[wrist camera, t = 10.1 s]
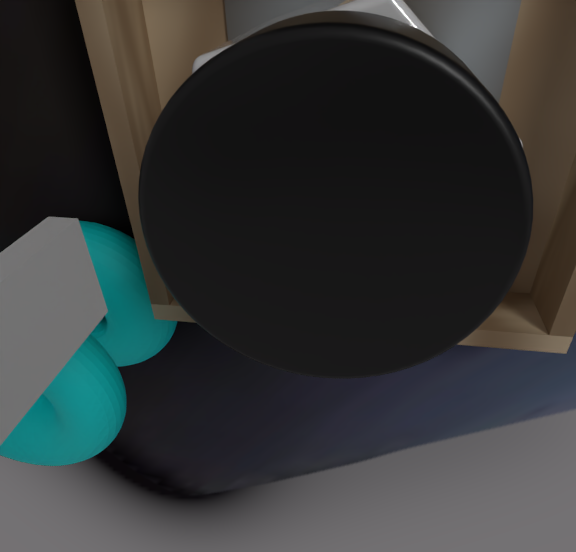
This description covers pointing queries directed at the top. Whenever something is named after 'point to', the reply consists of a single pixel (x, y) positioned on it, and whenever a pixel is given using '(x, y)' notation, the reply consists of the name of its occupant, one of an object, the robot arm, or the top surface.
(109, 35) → the crate
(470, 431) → the top surface
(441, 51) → the jar
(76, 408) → the donuts
